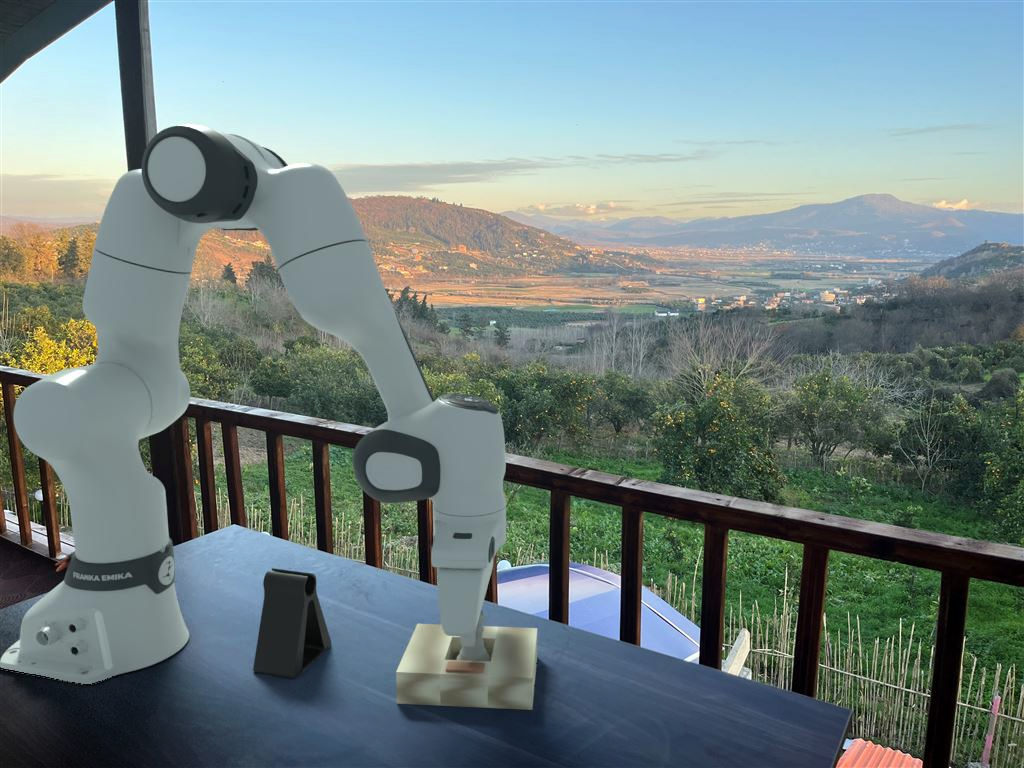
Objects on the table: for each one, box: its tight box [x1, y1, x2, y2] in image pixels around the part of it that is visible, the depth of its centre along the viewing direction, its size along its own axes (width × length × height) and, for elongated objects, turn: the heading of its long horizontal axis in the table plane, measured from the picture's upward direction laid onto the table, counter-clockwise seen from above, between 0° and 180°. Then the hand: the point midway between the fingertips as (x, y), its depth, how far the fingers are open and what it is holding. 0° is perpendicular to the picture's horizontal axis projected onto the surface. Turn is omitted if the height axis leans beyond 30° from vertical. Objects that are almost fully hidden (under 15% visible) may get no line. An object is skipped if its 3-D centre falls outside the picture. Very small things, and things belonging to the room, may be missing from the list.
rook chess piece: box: [457, 609, 490, 661], centre depth 91 cm, size 4×4×8 cm
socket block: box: [395, 623, 538, 711], centre depth 91 cm, size 16×12×4 cm
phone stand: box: [252, 567, 332, 680], centre depth 95 cm, size 9×6×12 cm, turn 163°
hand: (471, 634), depth 90 cm, fingers closed on rook chess piece, 3 cm apart
